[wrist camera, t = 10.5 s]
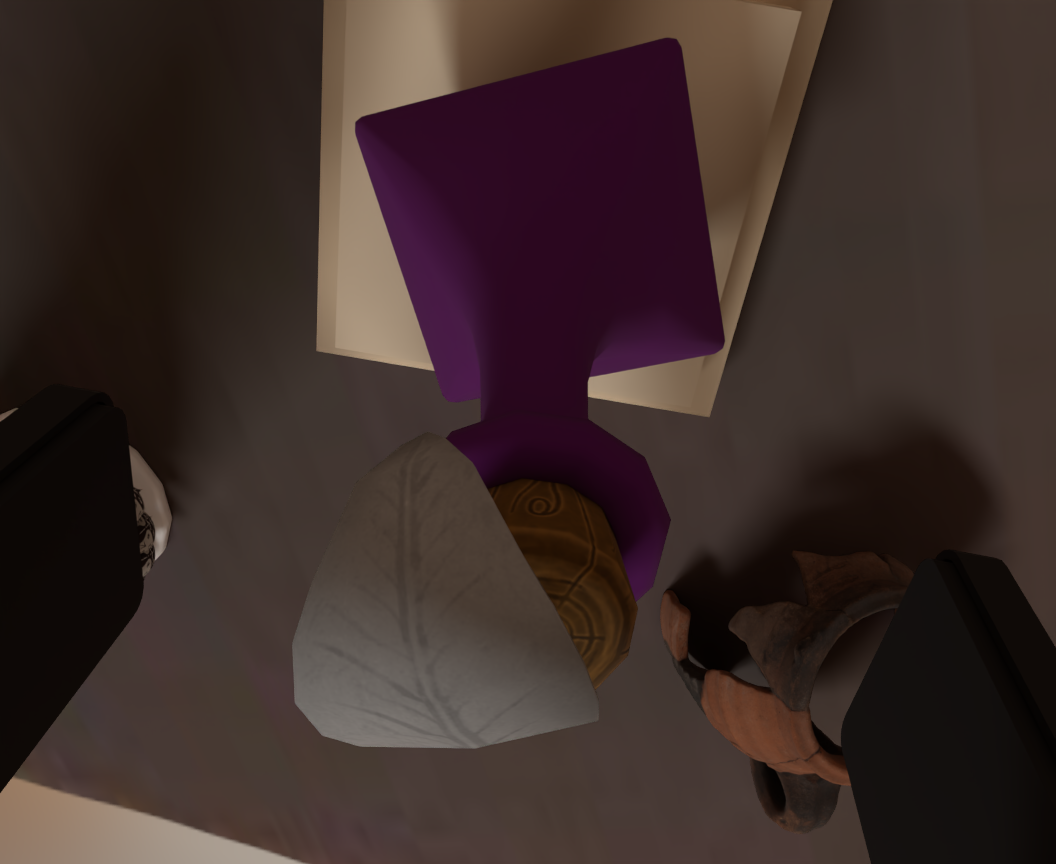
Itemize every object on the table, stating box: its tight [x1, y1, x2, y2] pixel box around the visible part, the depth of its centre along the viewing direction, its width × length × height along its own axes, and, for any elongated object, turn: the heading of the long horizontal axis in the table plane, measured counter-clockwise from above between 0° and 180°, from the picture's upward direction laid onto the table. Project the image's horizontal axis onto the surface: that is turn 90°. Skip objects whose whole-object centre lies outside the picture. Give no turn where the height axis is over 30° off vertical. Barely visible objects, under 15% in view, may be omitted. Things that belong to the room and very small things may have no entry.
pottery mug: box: [660, 551, 914, 834], centre depth 33 cm, size 12×10×8 cm
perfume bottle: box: [292, 37, 725, 748], centre depth 15 cm, size 8×8×18 cm
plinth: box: [317, 0, 833, 417], centre depth 25 cm, size 13×13×4 cm
